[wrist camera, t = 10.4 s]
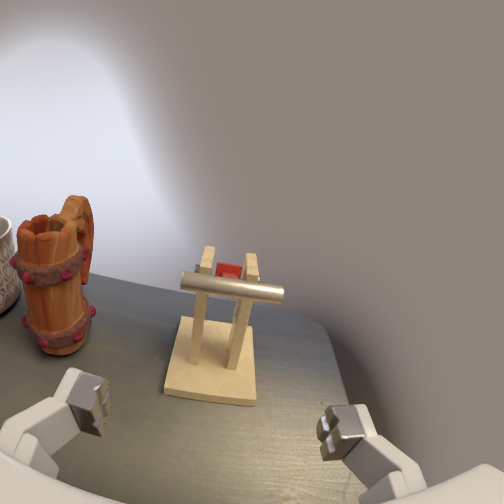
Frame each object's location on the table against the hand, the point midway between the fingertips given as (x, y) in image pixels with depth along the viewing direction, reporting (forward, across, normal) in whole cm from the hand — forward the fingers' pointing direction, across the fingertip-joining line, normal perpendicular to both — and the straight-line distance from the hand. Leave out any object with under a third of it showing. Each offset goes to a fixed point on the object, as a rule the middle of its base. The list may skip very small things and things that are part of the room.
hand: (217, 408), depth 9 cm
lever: (+13, 0, -3) cm, 13 cm away
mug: (+18, -17, -15) cm, 30 cm away
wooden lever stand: (+18, +1, -15) cm, 23 cm away
